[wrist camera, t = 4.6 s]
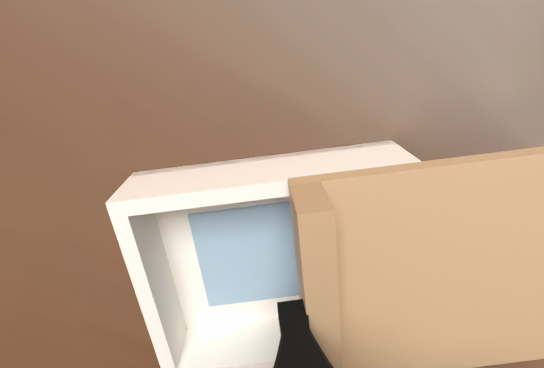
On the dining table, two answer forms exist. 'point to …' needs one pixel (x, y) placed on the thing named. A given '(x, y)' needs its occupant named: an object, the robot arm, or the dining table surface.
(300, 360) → the robot arm
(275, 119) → the dining table surface
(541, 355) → the lid
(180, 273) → the box
